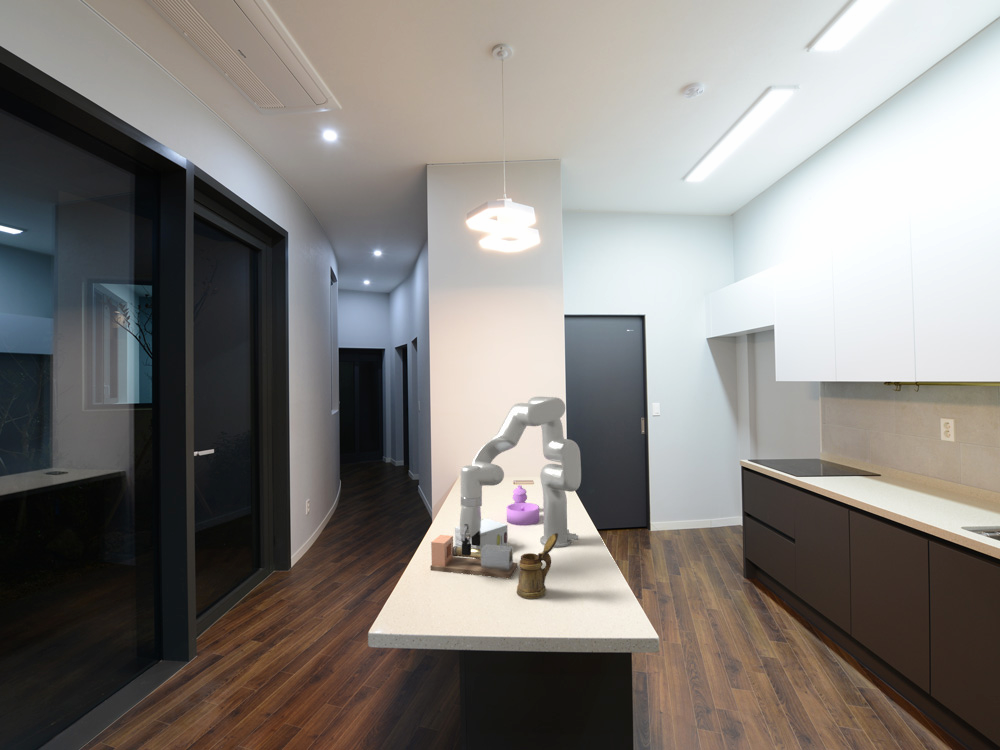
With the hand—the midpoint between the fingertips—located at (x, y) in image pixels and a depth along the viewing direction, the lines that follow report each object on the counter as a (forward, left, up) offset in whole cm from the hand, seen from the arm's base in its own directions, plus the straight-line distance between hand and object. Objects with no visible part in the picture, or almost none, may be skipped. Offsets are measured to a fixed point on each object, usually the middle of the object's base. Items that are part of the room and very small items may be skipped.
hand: (471, 549), depth 164 cm
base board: (-1, 0, -7) cm, 7 cm away
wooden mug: (-26, +12, -7) cm, 30 cm away
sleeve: (-9, 0, -5) cm, 11 cm away
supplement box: (+3, -19, -7) cm, 21 cm away
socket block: (+11, 0, -5) cm, 12 cm away
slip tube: (-4, 0, -3) cm, 5 cm away
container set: (-3, -63, -7) cm, 64 cm away
